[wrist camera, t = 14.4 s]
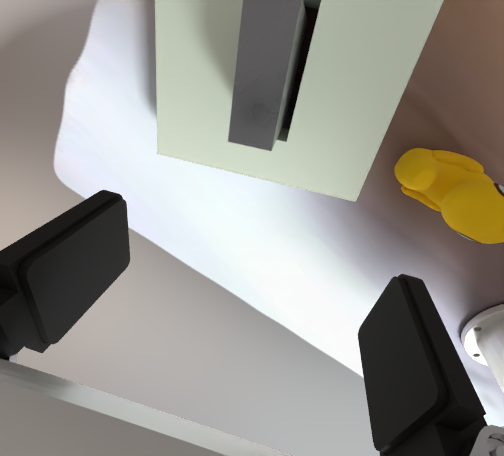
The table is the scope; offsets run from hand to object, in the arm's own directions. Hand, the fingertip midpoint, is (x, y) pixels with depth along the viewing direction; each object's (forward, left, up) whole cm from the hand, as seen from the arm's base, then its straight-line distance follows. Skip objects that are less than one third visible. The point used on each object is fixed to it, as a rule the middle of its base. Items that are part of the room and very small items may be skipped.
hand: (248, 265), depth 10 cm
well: (+2, -5, -23) cm, 23 cm away
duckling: (-16, +1, -23) cm, 28 cm away
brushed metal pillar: (+2, -5, -23) cm, 23 cm away
